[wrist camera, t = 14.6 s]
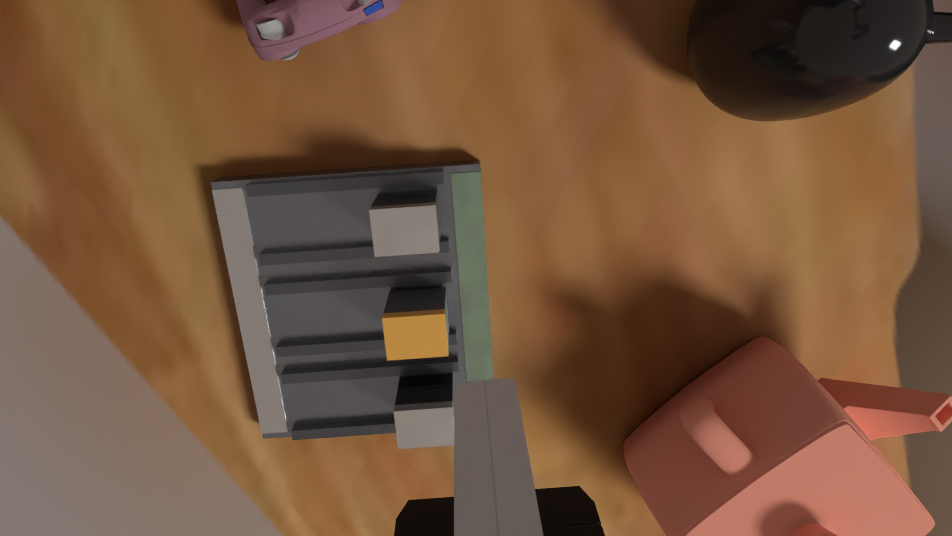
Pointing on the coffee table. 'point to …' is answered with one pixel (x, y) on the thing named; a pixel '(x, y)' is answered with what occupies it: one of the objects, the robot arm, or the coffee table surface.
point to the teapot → (780, 452)
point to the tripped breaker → (416, 324)
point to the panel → (355, 295)
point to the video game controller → (304, 22)
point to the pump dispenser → (805, 52)
